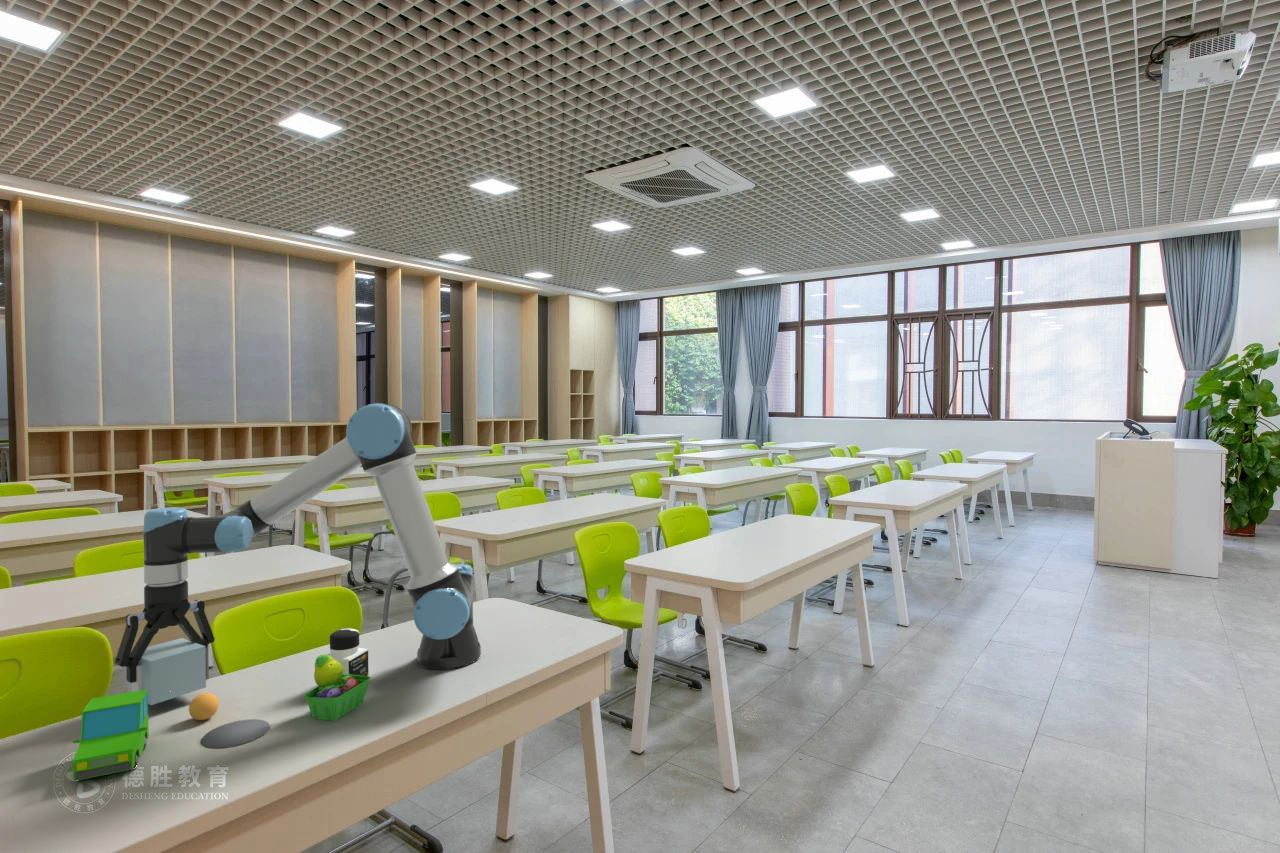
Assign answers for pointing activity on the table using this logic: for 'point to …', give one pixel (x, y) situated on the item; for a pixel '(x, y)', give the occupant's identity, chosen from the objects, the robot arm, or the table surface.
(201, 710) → the ball
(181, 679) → the pale blue cube
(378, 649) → the table surface
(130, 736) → the toy car
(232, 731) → the disc
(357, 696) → the fruit basket
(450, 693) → the table surface
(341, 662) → the medicine bottle
